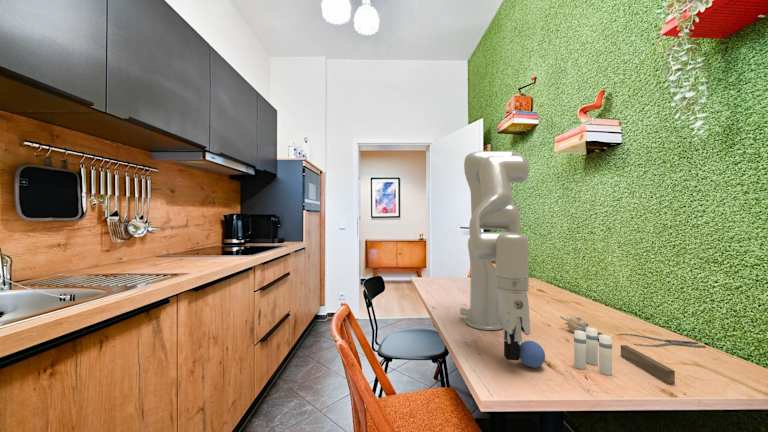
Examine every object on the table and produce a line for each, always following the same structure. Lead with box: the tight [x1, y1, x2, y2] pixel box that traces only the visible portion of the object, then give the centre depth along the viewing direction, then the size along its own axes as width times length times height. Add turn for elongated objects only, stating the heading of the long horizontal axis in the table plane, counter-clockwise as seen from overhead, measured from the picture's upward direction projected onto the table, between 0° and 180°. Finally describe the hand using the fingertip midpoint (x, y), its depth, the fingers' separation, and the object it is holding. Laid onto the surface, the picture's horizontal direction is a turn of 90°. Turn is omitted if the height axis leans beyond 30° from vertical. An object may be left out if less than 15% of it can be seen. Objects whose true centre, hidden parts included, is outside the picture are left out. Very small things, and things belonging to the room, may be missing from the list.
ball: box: [519, 340, 546, 368], centre depth 74 cm, size 6×6×6 cm
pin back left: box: [586, 326, 599, 366], centre depth 76 cm, size 2×2×8 cm
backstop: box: [620, 344, 676, 385], centre depth 73 cm, size 2×14×3 cm, turn 177°
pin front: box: [573, 330, 587, 370], centre depth 74 cm, size 2×2×8 cm
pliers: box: [618, 333, 707, 349], centre depth 91 cm, size 10×1×20 cm
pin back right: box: [598, 333, 613, 376], centre depth 71 cm, size 2×2×8 cm
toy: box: [559, 315, 604, 339], centre depth 95 cm, size 10×5×15 cm
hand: (511, 358), depth 74 cm, fingers closed
